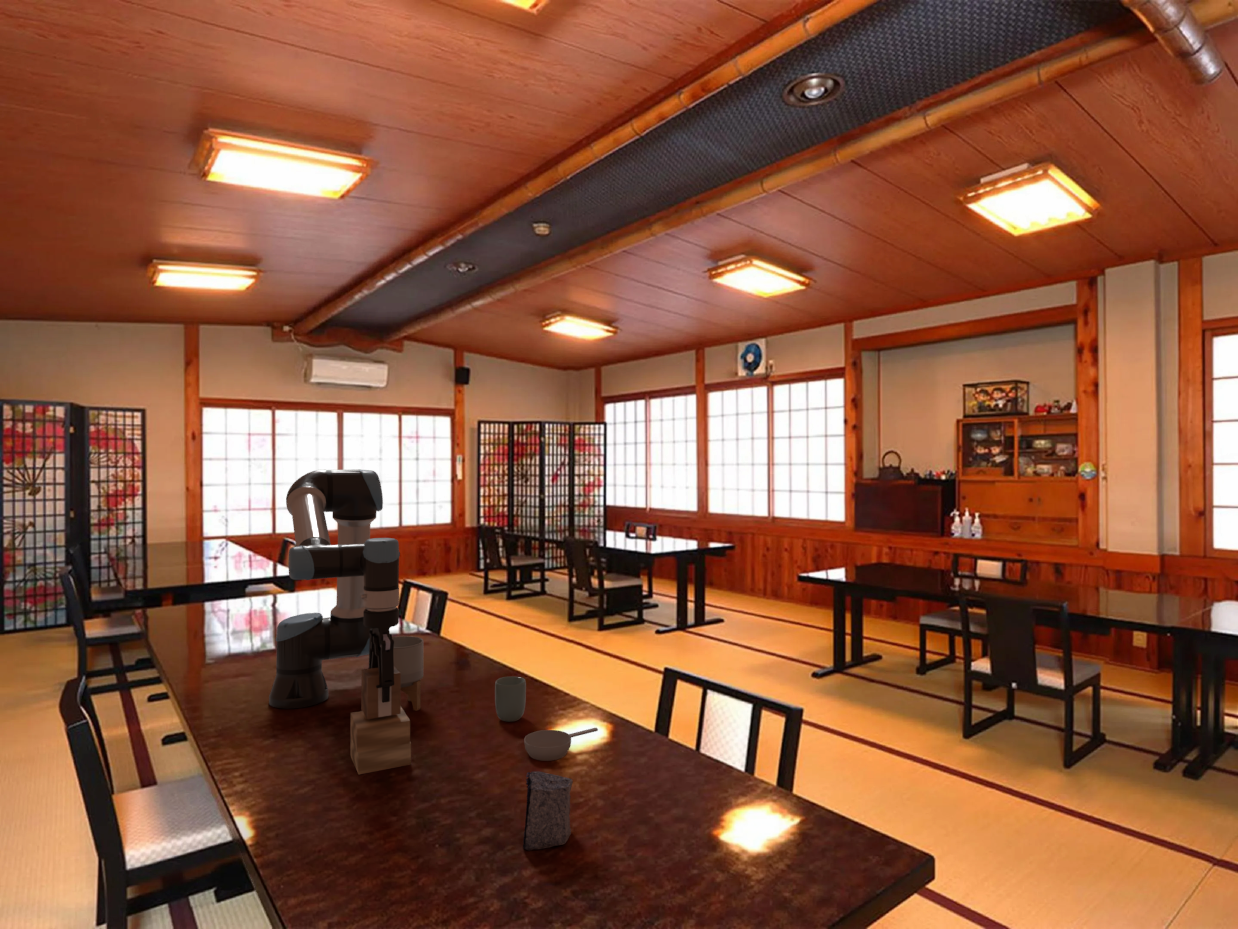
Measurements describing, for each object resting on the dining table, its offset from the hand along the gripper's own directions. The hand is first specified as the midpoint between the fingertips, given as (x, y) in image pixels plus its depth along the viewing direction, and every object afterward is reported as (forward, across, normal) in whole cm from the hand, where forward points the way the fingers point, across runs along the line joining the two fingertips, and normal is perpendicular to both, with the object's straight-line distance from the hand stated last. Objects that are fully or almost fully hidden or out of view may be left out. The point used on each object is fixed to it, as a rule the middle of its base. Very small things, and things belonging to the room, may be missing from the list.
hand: (380, 710), depth 162 cm
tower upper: (+6, 0, 0) cm, 6 cm away
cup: (+11, -10, +35) cm, 38 cm away
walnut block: (0, 0, 0) cm, 0 cm away
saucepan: (+11, +15, +38) cm, 42 cm away
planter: (+11, -33, +12) cm, 37 cm away
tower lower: (+11, 0, 0) cm, 11 cm away
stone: (+11, +50, +18) cm, 54 cm away
